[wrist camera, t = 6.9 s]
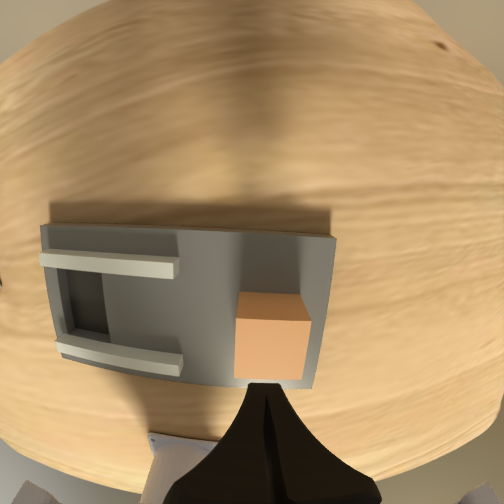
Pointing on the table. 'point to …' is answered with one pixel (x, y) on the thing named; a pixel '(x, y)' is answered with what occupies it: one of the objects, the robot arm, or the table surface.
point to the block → (271, 336)
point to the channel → (176, 295)
